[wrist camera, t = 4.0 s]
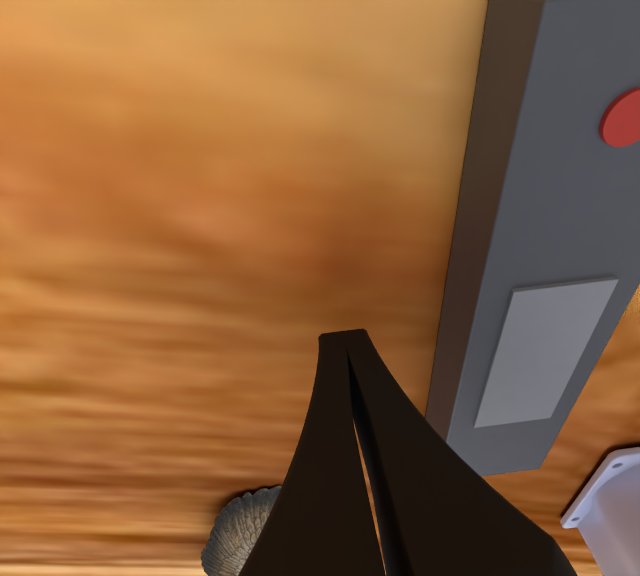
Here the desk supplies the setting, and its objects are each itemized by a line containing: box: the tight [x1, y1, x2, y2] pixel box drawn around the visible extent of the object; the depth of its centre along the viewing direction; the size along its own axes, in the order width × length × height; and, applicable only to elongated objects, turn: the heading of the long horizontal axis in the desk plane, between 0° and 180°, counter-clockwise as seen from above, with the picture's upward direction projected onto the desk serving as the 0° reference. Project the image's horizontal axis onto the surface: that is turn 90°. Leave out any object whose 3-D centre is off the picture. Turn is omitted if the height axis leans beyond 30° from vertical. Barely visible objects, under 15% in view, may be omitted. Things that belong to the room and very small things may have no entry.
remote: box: [425, 0, 640, 476], centre depth 13 cm, size 17×4×2 cm, turn 5°
